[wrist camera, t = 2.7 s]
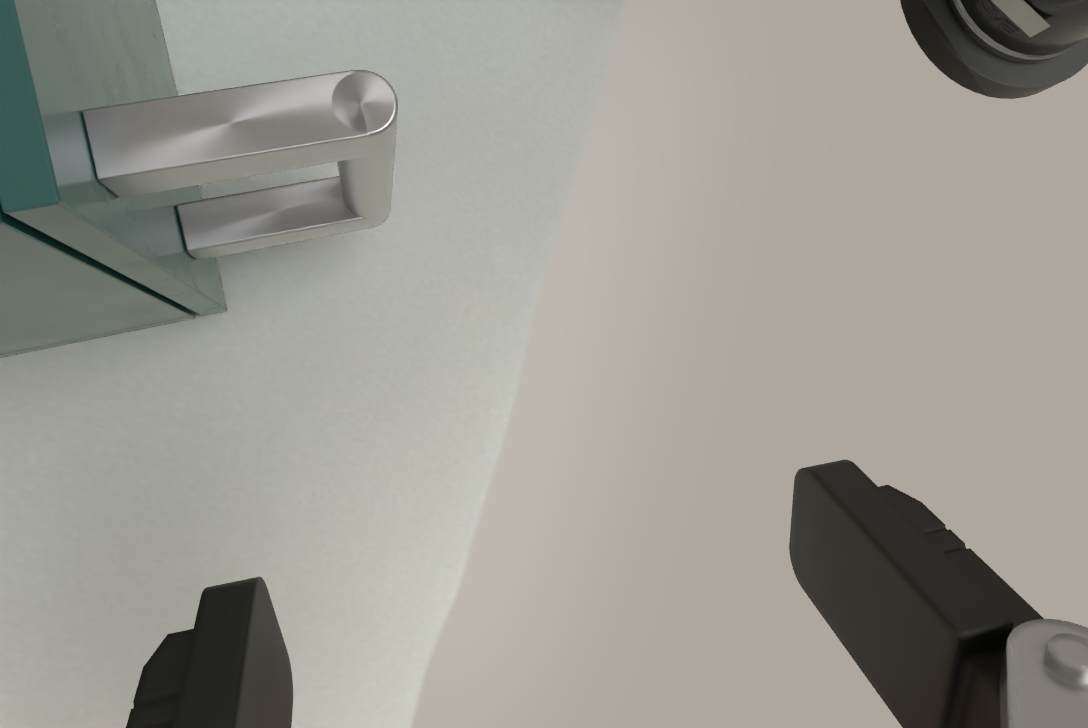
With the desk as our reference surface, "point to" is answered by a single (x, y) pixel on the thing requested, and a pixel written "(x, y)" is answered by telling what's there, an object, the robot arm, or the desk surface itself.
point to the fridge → (67, 294)
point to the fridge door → (175, 148)
